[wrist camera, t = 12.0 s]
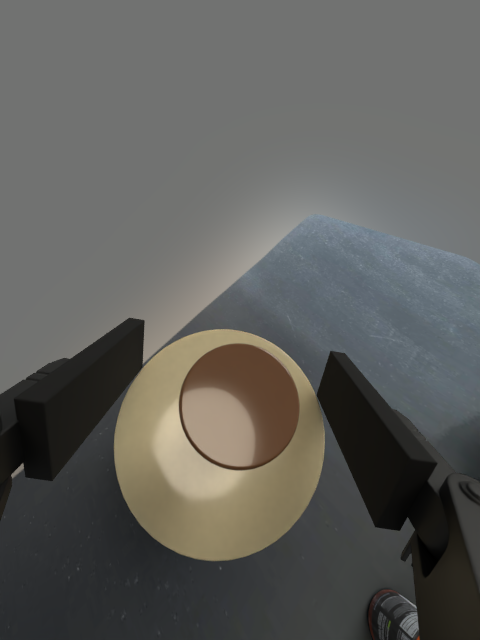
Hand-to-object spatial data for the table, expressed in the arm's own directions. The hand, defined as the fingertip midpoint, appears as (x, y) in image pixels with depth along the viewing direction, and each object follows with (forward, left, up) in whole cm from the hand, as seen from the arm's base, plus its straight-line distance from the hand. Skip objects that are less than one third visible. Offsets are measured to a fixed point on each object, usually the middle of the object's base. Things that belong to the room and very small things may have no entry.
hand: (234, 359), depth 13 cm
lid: (+2, -2, -1) cm, 3 cm away
